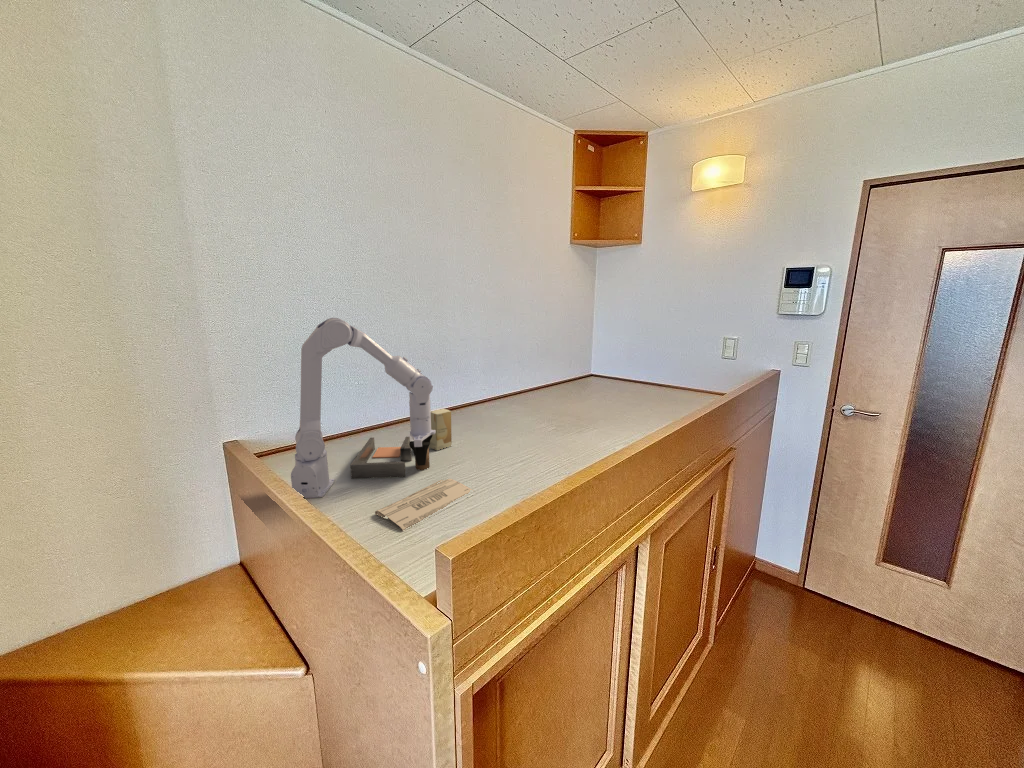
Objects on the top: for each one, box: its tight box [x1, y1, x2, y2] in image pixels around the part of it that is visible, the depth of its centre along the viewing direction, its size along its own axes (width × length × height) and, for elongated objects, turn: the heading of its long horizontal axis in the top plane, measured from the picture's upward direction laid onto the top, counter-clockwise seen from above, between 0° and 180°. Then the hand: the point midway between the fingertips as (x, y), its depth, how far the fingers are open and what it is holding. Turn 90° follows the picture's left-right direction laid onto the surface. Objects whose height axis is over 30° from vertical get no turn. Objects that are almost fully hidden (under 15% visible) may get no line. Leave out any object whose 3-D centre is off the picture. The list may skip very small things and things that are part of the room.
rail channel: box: [350, 436, 412, 480], centre depth 120 cm, size 22×14×4 cm, turn 5°
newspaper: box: [374, 478, 473, 531], centre depth 97 cm, size 23×12×2 cm, turn 140°
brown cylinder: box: [414, 447, 431, 471], centre depth 116 cm, size 4×4×6 cm
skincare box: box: [429, 408, 453, 451], centre depth 132 cm, size 6×4×12 cm
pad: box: [371, 446, 401, 459], centre depth 128 cm, size 8×8×1 cm
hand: (422, 461), depth 117 cm, fingers closed on brown cylinder, 4 cm apart
